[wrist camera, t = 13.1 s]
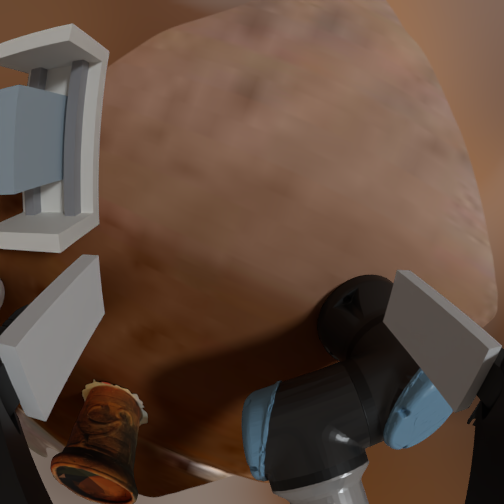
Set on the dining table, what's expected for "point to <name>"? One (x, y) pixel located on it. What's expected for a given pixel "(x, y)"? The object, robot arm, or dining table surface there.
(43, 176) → the sliding door panel
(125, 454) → the vessel
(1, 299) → the white air blower bulb
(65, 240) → the door track
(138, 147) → the dining table surface
